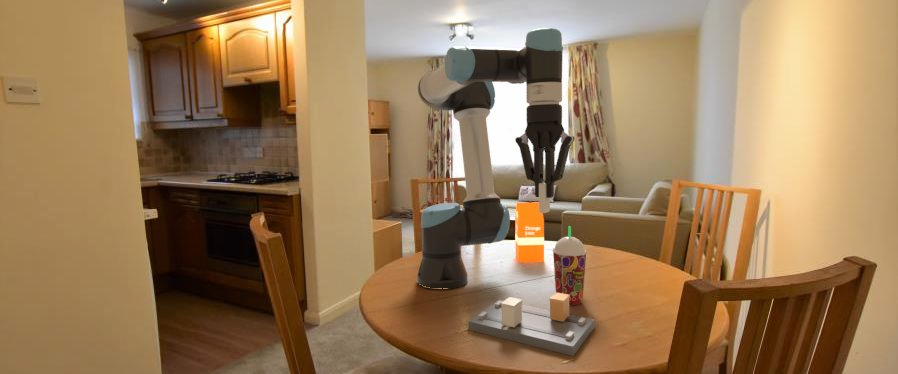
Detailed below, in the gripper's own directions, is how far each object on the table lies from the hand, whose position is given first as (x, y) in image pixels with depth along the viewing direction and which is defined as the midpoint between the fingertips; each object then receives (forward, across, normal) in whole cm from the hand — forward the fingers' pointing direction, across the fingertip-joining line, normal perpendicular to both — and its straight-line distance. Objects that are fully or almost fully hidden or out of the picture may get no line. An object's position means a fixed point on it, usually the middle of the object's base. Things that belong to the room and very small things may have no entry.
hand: (544, 211), depth 99 cm
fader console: (+26, -2, -3) cm, 27 cm away
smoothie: (+27, 0, +17) cm, 32 cm away
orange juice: (+27, -25, +49) cm, 61 cm away
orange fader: (+24, +3, +1) cm, 24 cm away
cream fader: (+24, -5, -7) cm, 26 cm away
